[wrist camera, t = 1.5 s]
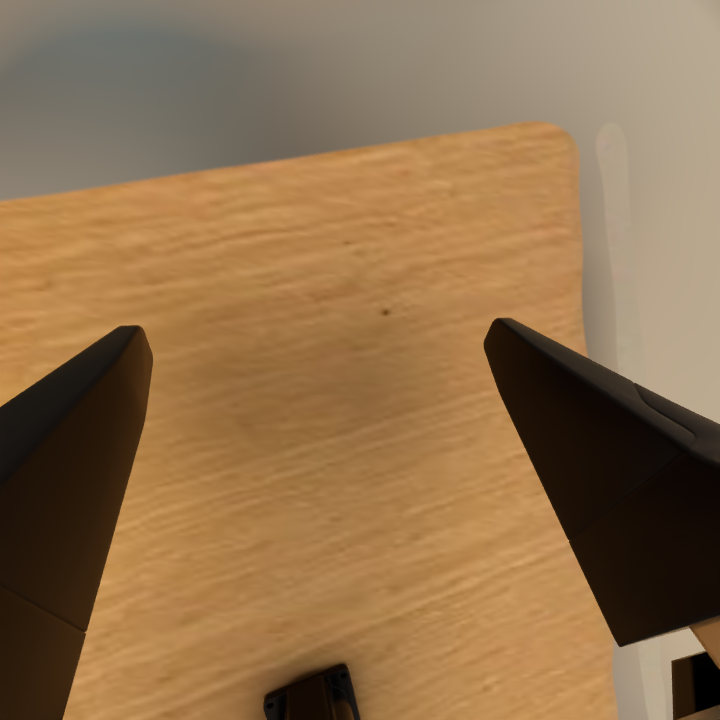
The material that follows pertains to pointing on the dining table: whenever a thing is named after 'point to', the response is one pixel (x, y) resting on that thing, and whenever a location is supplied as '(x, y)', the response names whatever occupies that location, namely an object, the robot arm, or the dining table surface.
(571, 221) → the dining table surface
